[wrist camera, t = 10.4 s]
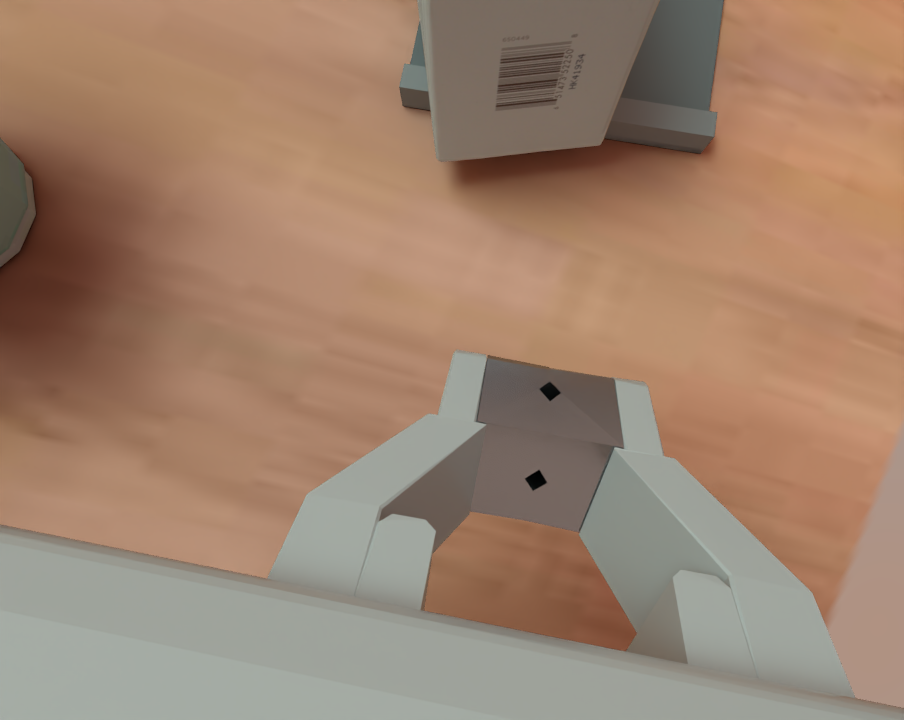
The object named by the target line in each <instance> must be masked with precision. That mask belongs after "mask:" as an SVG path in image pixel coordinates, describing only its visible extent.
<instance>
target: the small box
mask: <svg viewBox="0 0 904 720" xmlns="http://www.w3.org/2000/svg"><path fill="white" fill-rule="evenodd" d="M417 1H418V10H419V18H420V25H421V32H422V41H423V49H424V57H425V65H426V74H427V83H428V92H429V101H430V110H431V118H432V127H433V136H434V144H435V152H436V158H437V159H438V161H441V162H447V161H459V160H471V159H480V158H488V157H498V156H506V155H515V154H524V153H532V152H540V151H551V150H560V149H570V148H580V147H589V146H598V145H601V143H602V141H603V140H604V137H605V134H606V132H607V129H608V127H609V124H610V122H611V119H612V116H613V114H614V111H615V109H616V106H617V104H618V101H619V99H620V96H621V94H622V91H623V89H624V86H625V84H626V81H627V78H628V76H629V73H630V71H631V68H632V66H633V64H634V61H635V59H636V56H637V54H638V52H639V49H640V47H641V44H642V42H643V40H644V37H645V35H646V32H647V30H648V28H649V25H650V23H651V20H652V18H653V15H654V13H655V11H656V8H657V6H658V4H659V2H660V0H417Z"/></svg>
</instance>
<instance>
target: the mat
mask: <svg viewBox="0 0 904 720" xmlns="http://www.w3.org/2000/svg"><path fill="white" fill-rule="evenodd" d="M723 1H724V0H660V2H659V4H658V6H657V8H656V11H655V13H654V15H653V18H652V20H651V23H650V25H649V28H648V30H647V32H646V35H645V37H644V40H643V42H642V44H641V47H640V49H639V52H638V54H637V56H636V59H635V61H634V64H633V66H632V68H631V71H630V73H629V76H628V78H627V81H626V84H625V86H624V89H623V91H622V94H621V96H620V99H619V101H618V104H617V106H616V109H615V111H614V114H613V116H612V119H611V122H610V124H609V127H608V129H607V132H606V134H605V137H604V138H606V139H612V140H618V141H624V142H630V143H637V144H643V145H649V146H655V147H662V148H668V149H674V150H680V151H687V152H693V153H699V154H701V152H702V151H703V150H704V149H705V148H706V146H707V145H708V144H709V143H710V141H711V140H712V139H713V138H714V135H715V127H716V119H717V112H711V111H709V106H710V99H711V91H712V84H713V76H714V69H715V61H716V54H717V46H718V39H719V31H720V24H721V16H722V9H723ZM399 88H400V93H401V99H402V104H403V106H406V107H412V108H419V109H425V110H430V101H429V92H428V83H427V74H426V65H425V57H424V49H423V41H422V32H421V25H420V22H419V27H418V31H417V36H416V40H415V45H414V49H413V54H412V58H411V63H410V64H404V68H403V73H402V77H401V82H400V86H399Z"/></svg>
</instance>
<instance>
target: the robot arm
mask: <svg viewBox="0 0 904 720" xmlns="http://www.w3.org/2000/svg"><path fill="white" fill-rule="evenodd" d="M486 359H487V362H486ZM485 365H486V367H485ZM484 371H485V372H484ZM470 511H471V512H477V513H483V514H489V515H495V516H502V517H508V518H514V519H520V520H525V521H530V522H534V523H539V524H544V525H548V526H553V527H557V528H562V529H566V530H571V531H576V532H580V533H579V536H580V538H581V539H582V541H583V543H584V544H585V546H586V548H587V549H588V551H589V553H590V555H591V556H592V558H593V560H594V561H595V563H596V565H597V566H598V568H599V570H600V571H601V573H602V575H603V576H604V578H605V580H606V582H607V583H608V585H609V587H610V588H611V590H612V592H613V593H614V595H615V597H616V598H617V600H618V602H619V604H620V605H621V607H622V609H623V610H624V612H625V614H626V615H627V617H628V619H629V620H630V622H631V624H632V625H633V627H634V629H635V631H636V632H637V634H636V636H635V638H634V639H633V641H632V642H631V644H630V645H629V647H628V649H627V650H626V652H625V651H620V650H615V649H610V648H605V647H600V646H595V645H590V644H585V643H580V642H575V641H570V640H565V639H561V638H556V637H551V636H546V635H541V634H536V633H531V632H526V631H521V630H516V629H511V628H506V627H501V626H496V625H491V624H486V623H481V622H477V621H472V620H467V619H462V618H457V617H452V616H447V615H442V614H437V613H433V612H428V611H424V607H425V601H426V594H427V587H428V580H429V574H430V567H431V560H432V554H433V553H434V552H435V550H436V549H437V548H438V547H439V546H440V545H441V544H442V543H443V542H444V541H445V540H446V539H447V538H448V537H449V535H450V534H451V533H452V532H453V531H454V530H455V529H456V528H457V527H458V526H459V525H460V524H461V523H462V522H463V521H464V519H465V518H466V517H467V516H468V515H469V513H470ZM0 720H904V708H901V707H896V706H891V705H886V704H881V703H876V702H871V701H866V700H861V699H856V698H855V696H854V693H853V691H852V688H851V686H850V683H849V681H848V679H847V676H846V674H845V671H844V669H843V667H842V664H841V662H840V659H839V657H838V654H837V652H836V650H835V647H834V645H833V642H832V640H831V637H830V635H829V633H828V630H827V628H826V625H825V623H824V620H823V618H822V616H821V613H820V611H819V608H818V606H817V603H816V601H815V599H814V596H813V594H812V592H811V591H810V590H809V589H808V588H807V587H806V586H805V585H804V584H803V583H802V582H801V581H800V580H799V579H798V578H796V577H795V576H794V575H793V574H792V573H791V572H790V571H789V570H788V569H787V568H786V567H785V566H784V565H783V564H782V563H781V562H780V561H779V560H778V559H777V558H776V557H775V556H774V555H773V554H772V553H771V552H770V551H769V550H768V549H767V548H766V547H765V546H764V545H763V544H762V543H761V542H760V541H759V540H758V539H757V538H756V537H754V536H753V535H752V534H751V533H750V532H749V531H748V530H747V529H746V528H745V527H744V526H743V525H742V524H741V523H740V522H739V521H738V520H737V519H736V518H735V517H734V516H733V515H732V514H731V513H730V512H729V511H728V510H727V509H726V508H725V507H724V506H723V505H722V504H721V503H720V502H719V501H718V500H717V499H716V498H715V497H714V496H713V495H711V494H710V493H709V492H708V491H707V490H706V489H705V488H704V487H703V486H702V485H701V484H700V483H699V482H698V481H697V480H696V479H695V478H694V477H693V476H692V475H691V474H690V473H689V472H688V471H687V470H686V469H685V468H684V467H683V466H682V465H681V464H680V463H679V462H678V461H677V460H676V459H675V458H669V457H665V456H664V452H663V448H662V443H661V439H660V435H659V431H658V427H657V422H656V418H655V414H654V410H653V405H652V401H651V397H650V393H649V389H648V386H647V385H646V384H645V382H642V381H635V380H628V379H621V378H614V377H612V378H608V377H602V376H596V375H590V374H584V373H578V372H572V371H566V370H560V369H554V368H549V367H546V366H541V365H536V364H531V363H526V362H521V361H516V360H511V359H505V358H500V357H495V356H490V355H488V356H487V357H486V355H485V354H479V353H474V352H468V351H462V350H457V349H456V351H455V352H454V354H453V357H452V361H451V365H450V369H449V373H448V377H447V380H446V384H445V388H444V392H443V396H442V400H441V404H440V408H439V412H438V415H434V414H427V415H425V416H424V417H422V418H421V419H419V420H418V421H416V422H415V423H413V424H412V425H410V426H409V427H407V428H406V429H404V430H403V431H401V432H400V433H398V434H397V435H395V436H394V437H392V438H391V439H389V440H388V441H386V442H385V443H383V444H382V445H380V446H379V447H377V448H376V449H374V450H373V451H371V452H370V453H368V454H367V455H365V456H363V457H362V458H360V459H359V460H357V461H356V462H354V463H353V464H351V465H350V466H348V467H347V468H345V469H344V470H342V471H341V472H339V473H338V474H336V475H335V476H333V477H332V478H330V479H329V480H327V481H326V482H324V483H323V484H321V485H320V486H318V487H317V488H315V489H314V490H312V491H311V492H309V493H308V494H307V495H306V497H305V499H304V502H303V504H302V506H301V508H300V510H299V512H298V514H297V516H296V518H295V521H294V523H293V525H292V527H291V529H290V531H289V533H288V535H287V538H286V540H285V542H284V544H283V546H282V548H281V550H280V552H279V554H278V557H277V559H276V561H275V563H274V565H273V567H272V569H271V571H270V573H269V576H268V578H262V577H257V576H252V575H247V574H242V573H237V572H232V571H228V570H223V569H218V568H213V567H208V566H203V565H198V564H193V563H188V562H183V561H178V560H173V559H168V558H163V557H159V556H154V555H149V554H144V553H139V552H134V551H129V550H124V549H119V548H114V547H109V546H104V545H99V544H95V543H90V542H85V541H80V540H75V539H70V538H65V537H60V536H55V535H50V534H45V533H40V532H35V531H31V530H26V529H21V528H16V527H11V526H6V525H1V524H0Z"/></svg>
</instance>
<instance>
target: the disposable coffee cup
mask: <svg viewBox="0 0 904 720" xmlns="http://www.w3.org/2000/svg"><path fill="white" fill-rule="evenodd" d="M35 216H36V210H35V201H34V193H33V184H32V178H31V177H30V176H29V175H28V173H27V172H26V171H25V170H24V164H23V163H22V162H21V161H20V160H19V159H18V157H17V156H16V155H15V154H14V153H13V152H12V151H11V150H10V148H9V147H8V146H7V145H6V144H5V143H4V142H3V140H2V139H1V138H0V267H1V266H2V265H4V264H5V263H6V262H7V261H9V260H10V259H11V258H12V257H13V256H15V255H16V254H17V253H18V252H19V251H20V249H21V247H22V245H23V243H24V240H25V238H26V236H27V234H28V231H29V229H30V227H31V225H32V222H33V220H34V218H35Z"/></svg>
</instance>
